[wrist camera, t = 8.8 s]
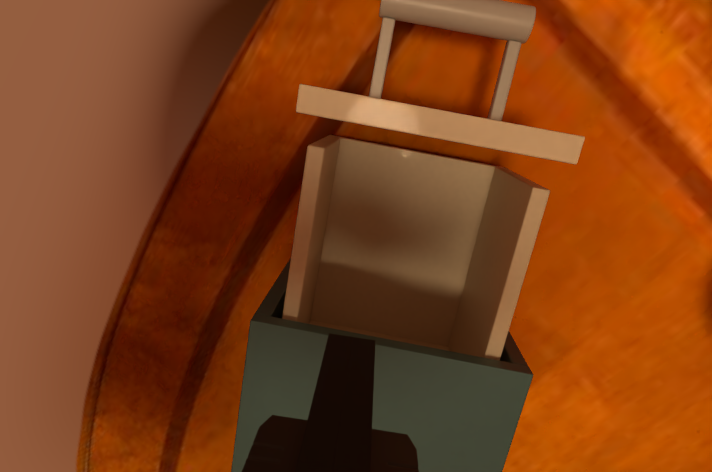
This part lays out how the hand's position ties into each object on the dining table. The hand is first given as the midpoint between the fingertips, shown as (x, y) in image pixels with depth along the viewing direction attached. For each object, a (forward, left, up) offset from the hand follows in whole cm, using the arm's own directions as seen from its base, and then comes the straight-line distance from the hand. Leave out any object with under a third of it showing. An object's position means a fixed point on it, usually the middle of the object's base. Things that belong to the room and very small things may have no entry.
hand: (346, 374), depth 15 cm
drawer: (-3, +3, -16) cm, 17 cm away
